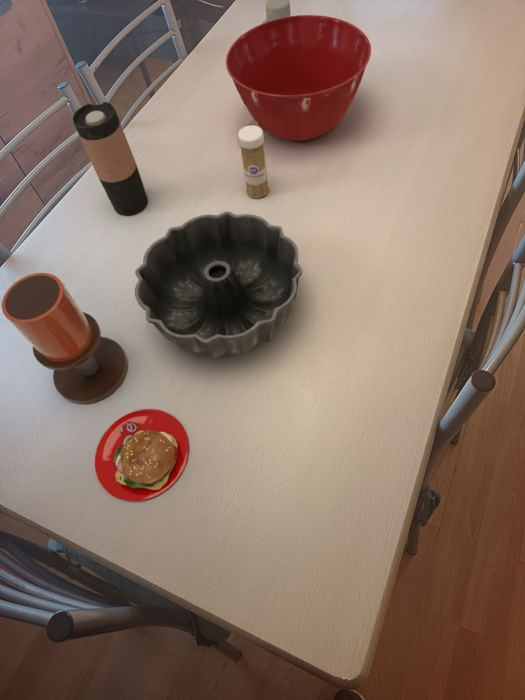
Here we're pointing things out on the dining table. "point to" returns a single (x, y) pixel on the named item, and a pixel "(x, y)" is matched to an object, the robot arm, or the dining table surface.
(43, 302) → the tumbler
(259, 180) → the sprinkles bottle
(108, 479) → the hamburger
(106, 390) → the wooden pedestal stand
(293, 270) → the bundt pan
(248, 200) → the dining table surface
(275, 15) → the air freshener
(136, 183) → the travel mug
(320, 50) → the mixing bowl
